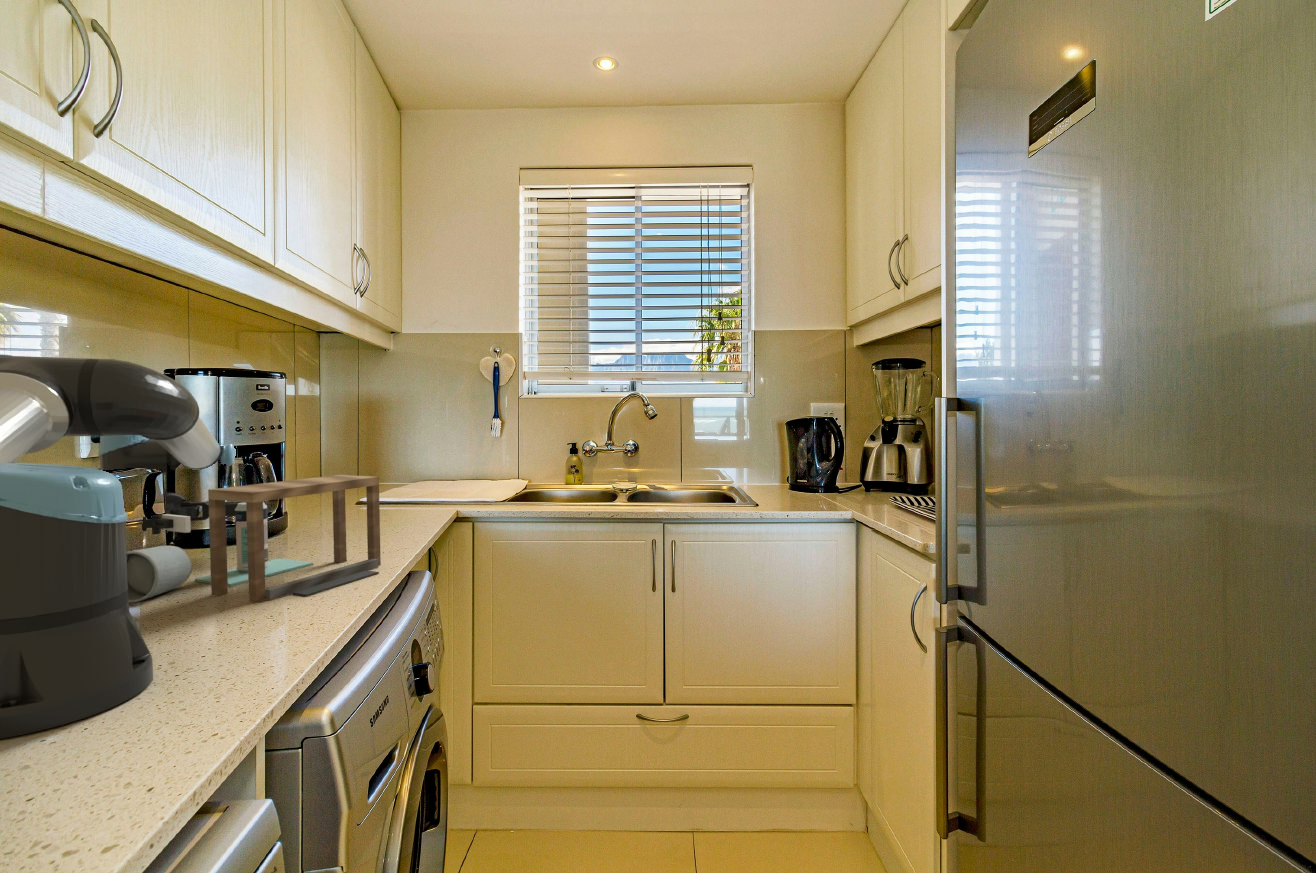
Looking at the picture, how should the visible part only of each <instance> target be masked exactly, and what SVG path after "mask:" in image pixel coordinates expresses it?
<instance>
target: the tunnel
mask: <svg viewBox="0 0 1316 873" xmlns="http://www.w3.org/2000/svg"><path fill="white" fill-rule="evenodd" d="M365 487H366V488H365ZM360 488H365V490H366V492H365V493H366V530H367V532H366V535H367V559H366V560H362V561H357V562H356V563H351V564H347V565H344V566H341V567H336V568H334V569H330V570H326V571H323V572H319V573H316V574H313V575H310V576H305V577H302V578H298V579H294V580H292V581H288V582H285V583H281V584H277V585H274V586H270V587H267V588H266V577H265V555H264V520H263V501H264V502H268V501H274V500H275V501H277V500H282V499H289V498H296V497H302V496H303V497H304V496H310V495H317V494H324V493H331V492H332V525H333V527H332V529H333V530H332V531H333V533H332V534H333V562H334V563H339V564H340V563H344V562H347V561H348V560H347V556H348V555H347V521H346V520H347V519H346V518H347V517H346V514H347V513H346V490H351V489H352V490H353V489H360ZM207 490H208V491H207V494H208V500H207V501H209V518H208V522H209V523H208V524H209V525H208V526H209V552H210V553H209V554H210V555H209V559H210V575H211V583H210V586H211V587H210V588H211V590H210V591H211V596H215V597H220V596H224V595H227V594H229V586H228V577H227V571H228V553H227V548H228V547H227V516H226V512H225V502H246V513H247V547H248V581H249V582H248V602H249V603H250V602H251V603H260V602H262V601H265V600H267V601H273V600H276V599H279V598H282V597H286V596H289V595H293V592H296V591H299V590H303V589H306V588H309V587H313V586H316V585H319V584H323V583H326V582H329V581H332V580H336V579H339V578H342V577H346V576H349V575H352V574H356V573H359V572H362V571H365V570H367V571H372V570H374V569H378V568H379V566H381V563H382V562H381V520H380V519H381V518H380V517H381V516H380V514H381V513H380V512H381V510H380V477H379V476H373V475H372V476H369V475H352V474H351V475H350V474H348V475H347V474H334V475H325V476H317V477H309V478H298V479H291V480H282V481H274V482H265V483H264V482H263V483H255V484H247V485H237V486H229V487H228V486H227V487H222V488H221V487H220V488H211V489H207Z"/></svg>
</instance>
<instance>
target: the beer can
mask: <svg viewBox="0 0 1316 873" xmlns="http://www.w3.org/2000/svg"><path fill="white" fill-rule="evenodd" d="M266 505H267V504H265V501H263V520H264V555H265V568H266V567H268V566H269V564H268V561H269V540H268V539H269V538H268V536H269V535H268V530H269V529H268V505H267V506H266ZM235 512H236V516H235V536H236V537H235V539H236V566H237V567H236V569H237V570H239V571H241V572H248V547H247V513H246V502H242V503H238V505H237V507H236V509H235Z"/></svg>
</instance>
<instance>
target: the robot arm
mask: <svg viewBox="0 0 1316 873" xmlns="http://www.w3.org/2000/svg"><path fill="white" fill-rule="evenodd" d="M63 437H66V438H67V437H68V438H69V437H71V438H72V437H100V439H99V443H100V444H99V453H98V456H99V467H100V469H98V468H94V467H84V466H77V465H64V464H53V463H52V464H48V463H33V462H32V463H29V462H27V463H25V462H18V460H20V459H21V457H22V456H23V455H26V454H33V453H38V452H40V451H43V450H46V449H48V448H51V447H52V446H54V445H55V444H56V443H58V442H59V441H60V440H61V439H63ZM235 456H236V449H235V448H234V446H233V445H232V444H230V445H227V446H222V447H221V446H220V444H219V443H218V442H217V440H216V437H214V435H213V434H212V432H211V430H209V429H208V426H207V425H206V424H205V423H204V421H203V419H201V417H200V407H199V404H198V402H197V400H196V398H195V397H194V396H193V394H192V393H191V392H190V391H189V389H187V388H186V387H185V386H183V385H182V384H181V383H180V382H177V381H176V380H175V379H173V378H172V377H169V376H167V375H166V374H163V373H161V372H159V371H158V370H155V369H152V368H149V367H146V366H144V365H141V364H140V363H139V364H138V363H135V362H132V361H131V362H130V361H126V360H119V359H109V358H82V357H81V358H80V357H57V356H56V357H53V356H51V357H50V356H28V355H27V356H25V355H19V356H18V355H10V354H3V353H0V739H5V738H11V737H16V736H21V735H26V734H31V733H35V732H39V731H45V730H49V729H52V728H55V727H56V728H57V727H59V726H62V725H66V724H69V723H73V722H75V721H76V722H77V721H79V720H82V719H85V718H89V717H91V716H94V715H97V714H99V713H101V712H104V711H107V710H109V709H111V708H114V707H116V706H118V705H120V704H122V703H124V702H126V701H129V700H130V699H131V698H133V697H136V696H137V695H139V694H140V693H142V692H143V691H145V689H146V688H147V687H149V686H150V685H151V684H152V682H153V679H154V665H153V657H152V654H151V652H150V649H149V648H148V645H147V644H146V642H145V639H144V638H143V636H142V633H141V631H140V629H139V628H138V625H137V624H136V622H135V620H134V617H133V616H132V614H131V612H130V608H129V602H128V579H127V552H128V550H127V547H128V546H127V527H126V520H127V519H128V515H127V512H125V508H124V499H123V489H122V484H121V482H120V481H119V479H118V478H117V477H116V476H114V475H113V474H111V473H109V472H106V471H103V470H114V469H126V468H148V469H156V470H159V471H161V472H162V473H163V474H164V476H165V473H166V469H167V463H168V465H169V466H170V469H171V470H174V469H176V468H177V467H178V466H179V465H180V464H182V465H183V466H184V467H186V468H188V469H192V470H202V469H205V468H208V467H210V466H212V465H213V464H215V463H216V462H217V461H218V460H220V461H221V464H223V465H224V464H226V465H227V466H231V465H233V463H234V458H235ZM164 476H163V477H164ZM164 492H165V495H166V514H164V513H163V514H158V515H153V516H151V518H152V519H147V520H146V517H143V524H142V530H143V531H144V532H146V531H147V528H152V530H151V535H159V534H161V533H162V531H161V529H162V530H167V531H166V532H176V533H183V534H186V533H191V531H192V530H191V522H194V521H206V520H209V500H207V501H197V502H196V501H195V502H194V501H191V500H190V501H189V500H187V499H186V498H185V497H184V496H182V495H181V494H179V493H175V492H170V491H169V492H168V491H167V492H166V491H164ZM238 503H242V502H237V501H225V512H226V517H236V512H235V509H236V507H237V505H238ZM265 505H266V506H267V507H268V505H267V504H265ZM199 515H201V516H199Z"/></svg>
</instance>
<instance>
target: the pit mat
mask: <svg viewBox="0 0 1316 873" xmlns="http://www.w3.org/2000/svg"><path fill="white" fill-rule="evenodd" d="M379 574H380V573H379V571H374V570H368V571H367V570H365V571H362V572H359V573H356V574H352V575H349V576H346V577H342V578H339V579H336V580H332V581H329V582H326V583H323V584H319V585H316V586H313V587H309V588H306V589H303V590H299V591H296V592H293V593H292V595H295V596H302V597H307V598H308V597H309V596H313V595H315V594H318V593H322V592H326V591H328V590H332V589H334V588H338V587H340V586H341V587H342V586H344V585H347V584H350V583H354V582H357V581H359V580H363V579H365V578H369V577H372V576H376V575H379ZM325 590H326V591H325Z"/></svg>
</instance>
